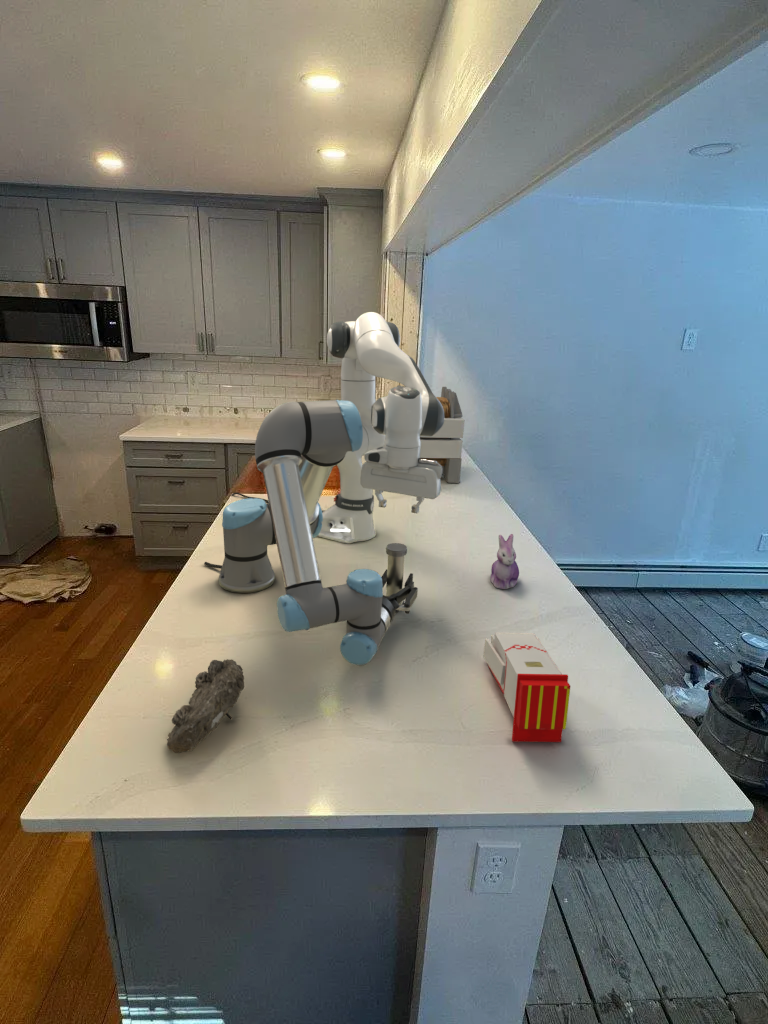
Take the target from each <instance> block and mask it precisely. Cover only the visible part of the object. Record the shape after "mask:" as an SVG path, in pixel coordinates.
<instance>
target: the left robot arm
mask: <svg viewBox="0 0 768 1024" xmlns="http://www.w3.org/2000/svg"><path fill="white" fill-rule="evenodd" d="M362 441H363V429H362V422H361V417H360V414H359V411H358V409H357V407H356V406H355V405H354V404H353V403H352V402H350V401H343V400H341V399H331V400H311V401H310V400H309V401H308V400H307V401H287V402H283V403H281V404H279V405H277V406H275V407H274V408H273V409H272V410H271V411H269V412H268V413H267V415H266V416H265V417H264V419H263V420H262V421H261V424H260V426H259V429H258V432H257V434H256V438H255V443H254V457H255V465H256V468H257V470H258V471H259V472H261V473H262V476H263V481H264V486H265V491H266V496H267V500H268V502H269V503H268V502H265V501H264V500H262V499H263V498H261V499H259V498H260V497H255V499H253V498H242V499H238V500H235V501H233V502H230V503H229V504H228V505H226V506H225V507H224V508H223V511H222V523H221V526H222V533H223V550H224V559H223V561H222V565H221V564H215V563H210V562H209V561H208V562H207V561H204V562H203V565H204V566H207V567H209V568H214V569H219V570H220V572H219V575H218V583H219V585H220V587H221V588H222V589H224V590H225V591H228V592H231V593H236V594H249V593H256V592H260V591H263V590H265V589H268V588H270V587H271V586H272V585H273V584H274V583H275V570H274V568H273V566H272V563H271V561H270V558H269V555H268V546H274V545H276V547H277V553H278V558H279V563H280V569H281V574H282V581H283V584H284V591H285V594H283V595H281V596H279V597H278V598H277V602H276V609H277V611H276V612H277V613H276V614H277V617H278V622H279V624H280V626H281V628H282V629H283V630H284V631H285V632H287V633H293V632H299V631H308V630H311V629H314V628H318V627H323V626H327V625H332V624H337V623H341V622H345V625H346V626H345V634H344V635H342V639H341V642H340V645H339V649H340V653H341V655H342V657H343V658H344V660H345V661H347V662H348V663H349V664H351V665H354V666H363V665H367V664H368V663H370V662H371V661H372V660H373V658H374V656H375V655H376V654H377V652H378V649H379V647H380V645H381V643H382V641H383V639H384V637H385V635H386V633H387V632H388V629H389V628H390V625H391V624H392V621H393V620H394V618H395V615H397V614H398V613H399V612H404V614H406V615H409V614H411V607H412V606H413V605H414V603H415V601H416V599H417V598H418V591H419V590H418V589H419V588H418V587H416V586H415V581H414V573H412V572H410V573H409V574H408V576H407V579H406V581H404V586H403V588H402V589H401V590H400V591H399V592H397V593H396V594H394V593H393V594H392V595H390V596H386V595H384V589H383V588H384V587H385V585H386V584H387V568H386V569H385V571H384V572H383V574H382V575H380V574H379V573H378V572H377V571H375V570H373V569H369V568H358V569H354V570H353V571H350V572H349V573H348V575H347V578H346V583H342V584H337V585H331V586H327V587H324V586H323V584H322V577H321V571H320V567H319V562H318V558H317V552H316V548H315V542H314V539H315V538H317V537H319V536H318V534H319V533H320V531H321V528H322V521H323V514H322V511H323V510H322V509H323V508H322V507H321V504H320V503H319V501H320V498H321V496H322V494H323V491H324V489H325V487H326V485H327V482H328V479H329V478H330V475H331V473H332V471H333V468H334V467H336V466H337V465H338V464H339V463H341V461H342V460H343V459H344V457H345V455H346V453H347V452H348V451H352V452H354V451H357V450H359V449H360V447H361V445H362ZM401 602H402V605H399V603H401Z"/></svg>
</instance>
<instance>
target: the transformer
mask: <svg viewBox="0 0 768 1024" xmlns="http://www.w3.org/2000/svg"><path fill="white" fill-rule="evenodd" d="M398 386H401V385H399V384H398V385H397V386H396V387H398ZM440 393H441V394H440V396H435V397H436V398H437V399H438V400H439V401H440V403H441V404H442V406H443V409H444V424H443V426H442V427H441V428H440V430H439V431H438V432H437V433H435V434H434V435H433V436H420V443H421V447H420V459H426V460H434V461H437V463H439V464H440V465H441V466H442V476H443V478H444V479H445V481H446V482H447V483H449V484H455V483H456V484H459V483H461V472H462V461H463V460H462V453H463V442H464V441H463V440H462V439H463V438H464V431H465V430H464V429H465V419H464V418H463V411H462V408H461V405H460V402H459V398H458V395H457V392H455V391H453V390H452V389H451V388H447V386H442V387H441V392H440ZM438 466H439V465H438Z"/></svg>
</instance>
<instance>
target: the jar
mask: <svg viewBox="0 0 768 1024" xmlns="http://www.w3.org/2000/svg"><path fill="white" fill-rule="evenodd" d="M386 567H387V568H386V569H387V582H386V584H385V585H386V587H385V590H386V591H385V596H390V595H392V594H393V593H394V594H396V593H397V592H399V591H400V590H401V589H403V588H404V586H403V585H404V572H405V571H404V570H405V569H404V568H405V556H402V557H393V556H389V555H388V554H387V565H386ZM402 604H403V601H402V602H401V603H399V605H402Z"/></svg>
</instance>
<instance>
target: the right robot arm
mask: <svg viewBox="0 0 768 1024" xmlns="http://www.w3.org/2000/svg"><path fill="white" fill-rule="evenodd" d="M326 345H327V349H328V351H329V354H330V355H331V356H332V357H334V358H337V359H341V367H340V400H343V401H350V402H352V403H353V404H354V405H355V406H356V407H357V409H358V411H359V414H360V417H361V422H362V429H363V441H362V445H361V447H360V449H359V450H357V451H354V452H352V451H348V452H347V453H346V455H345V457H344V459H343V460H342V461H341V463H339V464H338V465H336V466H337V468H338V469H337V470H338V472H339V482H340V484H339V485H340V488H339V489H340V490H339V491H338V492H337V494H336V495H335V496H334V497H333V502H334V504H333V505H331V506H329V507H328V508H326V509H324V510H322V514H323V521H322V528H321V531H320V533H319V534H318V536H317V537H319V538H323V539H326V540H330V541H336V542H339V543H343V544H352V543H357V542H365V541H368V540H372V539H373V538H375V537H376V535H377V532H376V528H375V523H374V513H373V512H374V509H375V497H376V499H377V501H378V507H379V508H383V509H385V508H386V507H387V502H388V500H387V499H386V498H384V496H383V494H382V493H383V492H384V493H390V494H391V493H392V494H397V495H403V496H410V497H416V500H415V501H417V503H416V504H413V505H412V506H411V513H412V514H419V512H420V506H421V505H422V504H423V502H424V500H425V499H428V500H436V499H437V498H438V497H439V496H440V495H441V492H442V491H441V490H442V485H441V484H442V483H441V478H442V476H443V474H442V466H441V465H440V464H439V463H437V461H434V460H426V459H420V447H421V443H420V436H433V435H434V434H435V433H437V432H438V431H439V430H440V428H441V427H442V426H443V424H444V409H443V406H442V404H441V403H440V401H439V400H438V399H437V398H436V397H437V396H436V395H435V394H434V392H433V391H432V389H431V388H430V386H429V384H428V383H427V380H426V379H425V377H424V375H423V373H422V371H421V370H420V368H419V366H418V364H417V362H416V361H415V360H414V358H413V357H412V356H410V355H408V354H407V353H406V352H405V351H403V350H402V349H401V348H400V345H401V334H400V330H399V327H398V326H397V325H396V323H394V322H390V321H387V320H386V319H385V318H384V317H383V315H382V314H380V313H378V312H375V311H367V312H364V313H362V314H360V316H358V317H357V318H356V320H351V321H343V320H341V321H336V322H333V323H332V324H331V325H330V326H329V327H328V331H327V334H326ZM376 378H380V379H385V380H389V381H394V382H397V383H399V384H401V385H400V386H398V385H397V386H398V387H397V386H394V387H392V388H390V389H389V390H388V392H387V395H386V396H383V397H379V398H377V399H376ZM363 457H364V461H365V462H363V460H362V459H363ZM438 465H439V466H438ZM235 495H238V496H241V497H242V498H244V499H247V498H253V499H255V498H256V497H254V496H248V495H245V494H243V493H241V492H233V493H232V494H231V495H230V496H231V497H234V496H235ZM374 495H375V496H374ZM258 498H259V499H262V500H264V501H265V503H267V504H269V502H268V499H265V498H260V497H258Z"/></svg>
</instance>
